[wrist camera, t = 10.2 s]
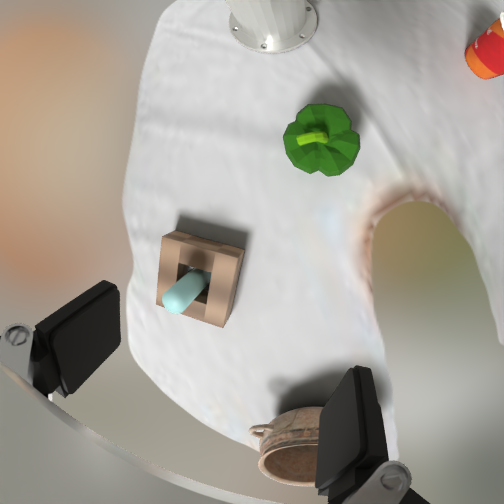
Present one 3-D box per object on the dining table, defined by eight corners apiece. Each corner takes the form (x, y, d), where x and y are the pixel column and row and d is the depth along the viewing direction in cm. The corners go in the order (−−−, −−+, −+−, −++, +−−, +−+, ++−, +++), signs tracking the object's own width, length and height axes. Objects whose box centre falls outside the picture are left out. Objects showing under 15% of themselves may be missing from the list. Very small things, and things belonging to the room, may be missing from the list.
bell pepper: (353, 120, 31) (369, 101, 21) (347, 180, 33) (362, 182, 24) (290, 111, 32) (283, 89, 23) (284, 170, 35) (275, 169, 25)
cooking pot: (388, 412, 42) (397, 459, 31) (329, 454, 49) (327, 495, 37) (287, 366, 43) (278, 420, 31) (236, 417, 49) (220, 462, 38)
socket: (175, 230, 40) (162, 236, 36) (244, 249, 39) (237, 258, 35) (167, 294, 44) (156, 304, 40) (230, 314, 42) (223, 328, 38)
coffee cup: (484, 44, 20) (529, 16, 6) (501, 87, 22) (555, 70, 8) (450, 39, 22) (493, 0, 8) (469, 84, 24) (524, 58, 10)
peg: (194, 261, 41) (163, 286, 31) (214, 267, 40) (186, 295, 31) (191, 280, 42) (161, 309, 32) (210, 286, 41) (184, 317, 32)
